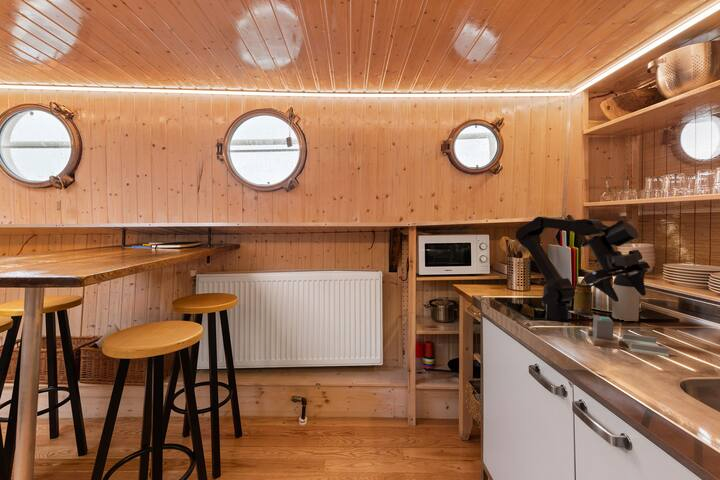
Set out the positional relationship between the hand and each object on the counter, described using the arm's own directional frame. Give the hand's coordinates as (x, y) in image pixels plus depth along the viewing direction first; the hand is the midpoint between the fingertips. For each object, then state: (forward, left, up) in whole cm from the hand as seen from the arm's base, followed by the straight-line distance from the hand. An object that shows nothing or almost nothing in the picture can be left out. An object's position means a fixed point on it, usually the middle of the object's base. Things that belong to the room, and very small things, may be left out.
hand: (630, 298), depth 103 cm
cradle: (+3, -4, -13) cm, 15 cm away
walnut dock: (-7, -4, -13) cm, 16 cm away
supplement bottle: (-18, +38, -14) cm, 44 cm away
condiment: (-7, +31, -14) cm, 34 cm away
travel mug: (+6, +30, -14) cm, 33 cm away
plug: (-7, -4, -13) cm, 16 cm away
